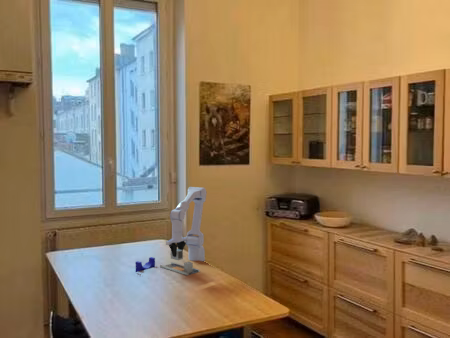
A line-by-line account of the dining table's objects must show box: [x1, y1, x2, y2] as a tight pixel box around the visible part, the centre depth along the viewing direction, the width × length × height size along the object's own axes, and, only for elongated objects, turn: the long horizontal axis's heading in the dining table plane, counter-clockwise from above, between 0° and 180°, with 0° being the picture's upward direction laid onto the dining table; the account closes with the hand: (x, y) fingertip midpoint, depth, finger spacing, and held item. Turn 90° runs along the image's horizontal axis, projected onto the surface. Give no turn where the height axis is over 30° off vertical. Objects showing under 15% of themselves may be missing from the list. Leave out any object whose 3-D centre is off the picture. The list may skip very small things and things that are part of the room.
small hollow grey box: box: [183, 261, 194, 273], centre depth 250 cm, size 4×3×5 cm
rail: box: [159, 261, 201, 277], centre depth 255 cm, size 10×22×2 cm, turn 48°
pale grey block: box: [170, 248, 184, 261], centre depth 256 cm, size 4×6×5 cm, turn 47°
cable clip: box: [135, 256, 156, 273], centre depth 258 cm, size 12×4×6 cm, turn 145°
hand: (177, 255), depth 256 cm, fingers closed on pale grey block, 3 cm apart
